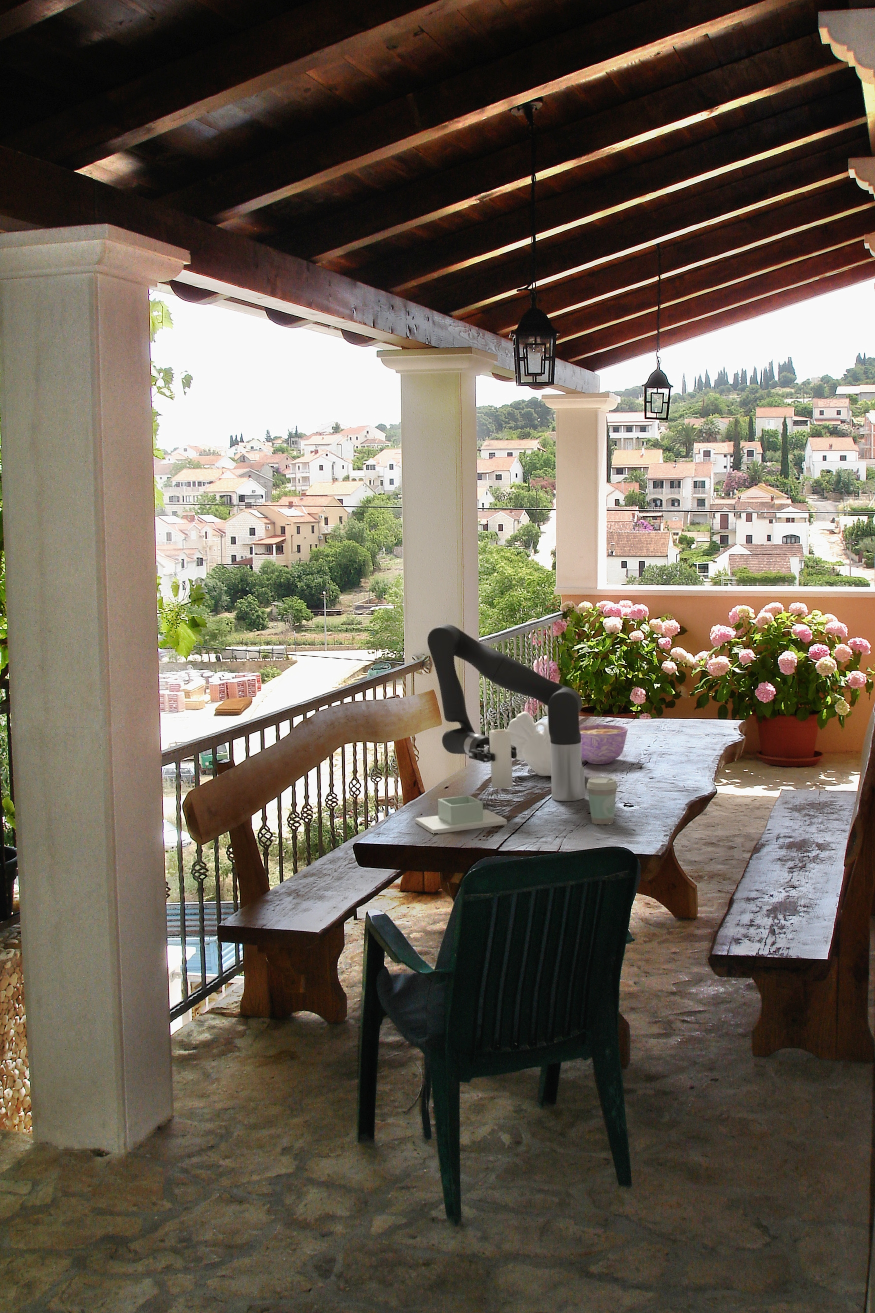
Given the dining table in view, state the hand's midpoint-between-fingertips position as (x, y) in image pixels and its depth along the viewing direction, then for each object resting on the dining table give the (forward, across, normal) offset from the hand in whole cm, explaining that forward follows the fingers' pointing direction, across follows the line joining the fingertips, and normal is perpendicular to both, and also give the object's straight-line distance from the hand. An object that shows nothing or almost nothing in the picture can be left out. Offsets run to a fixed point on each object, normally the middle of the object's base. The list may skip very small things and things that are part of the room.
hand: (504, 756), depth 316 cm
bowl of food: (-55, +61, +18) cm, 84 cm away
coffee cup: (+18, +20, +18) cm, 33 cm away
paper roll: (-2, 0, +9) cm, 9 cm away
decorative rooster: (-47, +35, +18) cm, 61 cm away
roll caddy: (0, -14, +17) cm, 22 cm away
